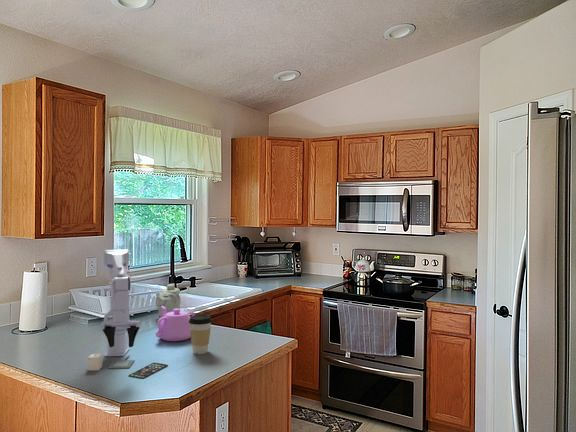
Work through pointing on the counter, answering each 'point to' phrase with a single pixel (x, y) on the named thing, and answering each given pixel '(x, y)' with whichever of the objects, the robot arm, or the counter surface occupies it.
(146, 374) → the smartphone
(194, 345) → the coffee cup
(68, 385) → the counter surface
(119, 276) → the robot arm
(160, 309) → the teapot
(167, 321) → the teapot
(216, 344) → the counter surface
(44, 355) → the counter surface
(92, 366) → the block
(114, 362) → the mat
